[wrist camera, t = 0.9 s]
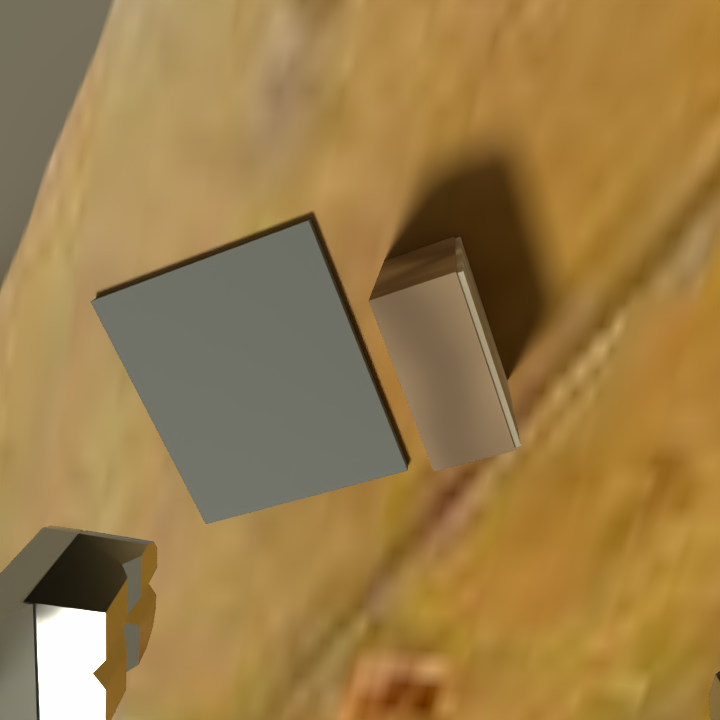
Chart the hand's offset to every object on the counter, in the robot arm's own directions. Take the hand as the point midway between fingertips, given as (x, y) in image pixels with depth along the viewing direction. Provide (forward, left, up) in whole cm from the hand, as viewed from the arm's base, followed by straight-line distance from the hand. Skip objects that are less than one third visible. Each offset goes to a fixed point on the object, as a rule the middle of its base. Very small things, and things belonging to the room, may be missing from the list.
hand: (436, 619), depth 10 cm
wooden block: (+2, +5, -29) cm, 29 cm away
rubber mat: (+14, +5, -29) cm, 32 cm away
